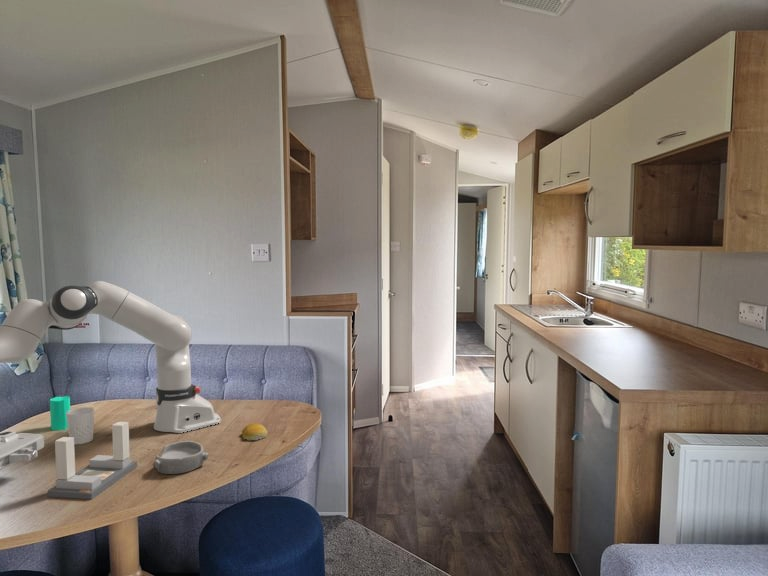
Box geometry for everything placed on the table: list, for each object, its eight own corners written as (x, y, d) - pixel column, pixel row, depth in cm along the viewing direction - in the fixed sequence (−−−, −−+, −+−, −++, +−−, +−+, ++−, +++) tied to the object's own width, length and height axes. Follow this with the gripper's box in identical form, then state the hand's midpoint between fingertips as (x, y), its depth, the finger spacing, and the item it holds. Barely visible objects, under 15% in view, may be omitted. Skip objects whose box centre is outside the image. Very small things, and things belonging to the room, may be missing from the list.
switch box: (47, 496, 134) (47, 483, 133) (98, 464, 154) (98, 452, 153) (91, 499, 132) (91, 485, 132) (137, 466, 152) (136, 454, 152)
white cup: (64, 441, 171) (62, 411, 170) (90, 434, 177) (89, 405, 176) (71, 447, 166) (70, 416, 165) (98, 440, 172) (97, 410, 171)
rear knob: (113, 459, 147) (112, 425, 147) (119, 455, 150) (118, 421, 150) (123, 460, 147) (122, 425, 146) (129, 456, 150) (128, 422, 149)
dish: (154, 479, 144) (154, 462, 144) (154, 460, 157) (154, 444, 157) (209, 471, 150) (209, 454, 150) (205, 453, 163) (205, 437, 162)
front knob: (56, 478, 135) (54, 441, 135) (64, 473, 138) (63, 436, 137) (67, 479, 135) (65, 441, 134) (75, 474, 138) (73, 437, 137)
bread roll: (243, 443, 172) (243, 431, 171) (241, 433, 180) (240, 422, 180) (269, 439, 174) (269, 428, 174) (265, 430, 183) (265, 419, 183)
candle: (74, 425, 186) (73, 391, 185) (63, 430, 180) (61, 396, 179) (59, 424, 187) (57, 391, 186) (46, 430, 181) (45, 396, 180)
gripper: (-53, 457, 128) (-1, 460, 127) (15, 428, 149) (60, 430, 147) (-51, 482, 129) (0, 485, 127) (16, 450, 149) (61, 452, 148)
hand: (33, 456), depth 137 cm, fingers closed
